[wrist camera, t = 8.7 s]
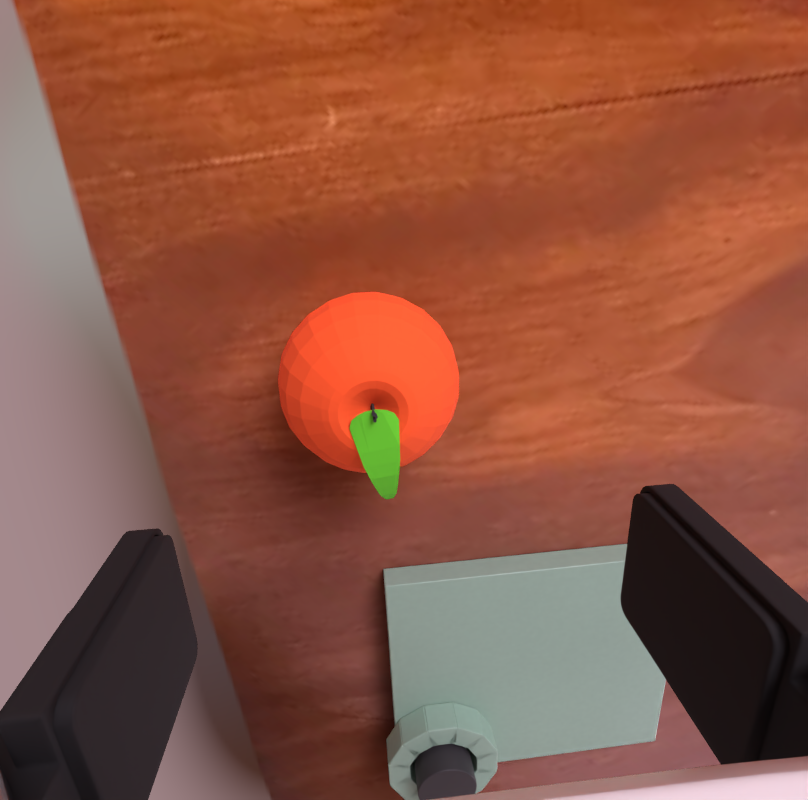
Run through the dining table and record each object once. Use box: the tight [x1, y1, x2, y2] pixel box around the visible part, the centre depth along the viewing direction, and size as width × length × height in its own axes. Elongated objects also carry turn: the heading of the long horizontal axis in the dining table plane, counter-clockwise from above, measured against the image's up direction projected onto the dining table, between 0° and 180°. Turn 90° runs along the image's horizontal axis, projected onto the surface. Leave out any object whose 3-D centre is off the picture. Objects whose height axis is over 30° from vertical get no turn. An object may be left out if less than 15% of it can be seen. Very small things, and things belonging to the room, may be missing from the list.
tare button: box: [415, 744, 477, 800], centre depth 29 cm, size 3×3×2 cm
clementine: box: [278, 292, 459, 499], centre depth 20 cm, size 8×7×7 cm
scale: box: [383, 544, 666, 800], centre depth 29 cm, size 17×15×3 cm
